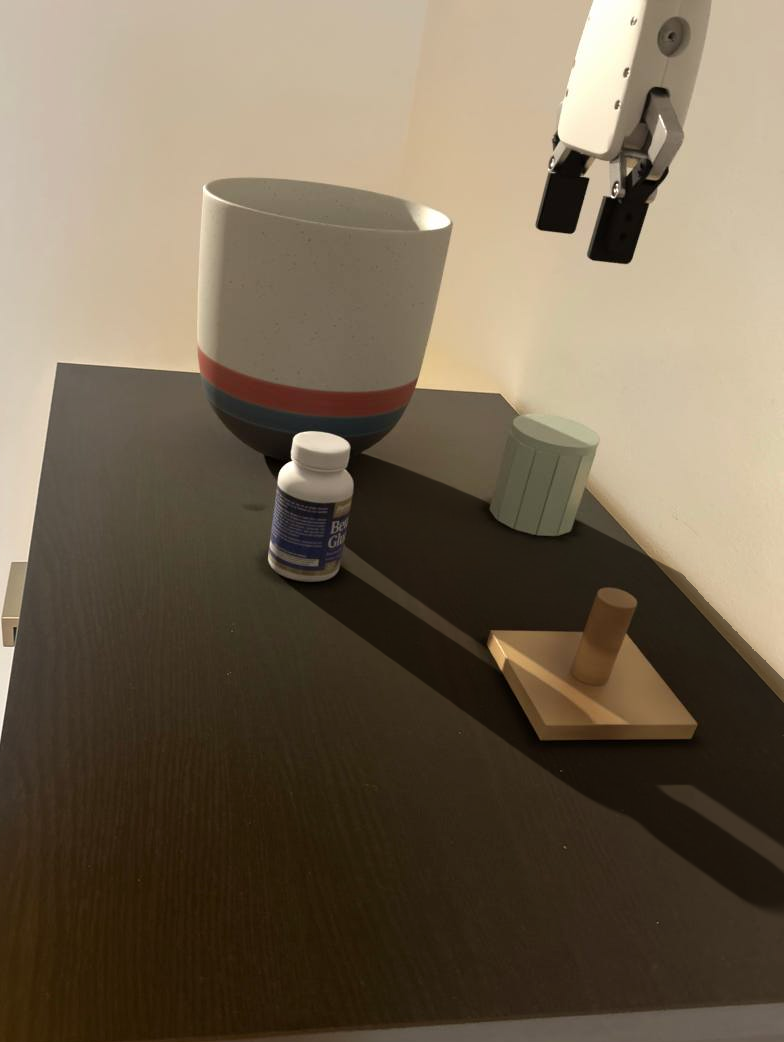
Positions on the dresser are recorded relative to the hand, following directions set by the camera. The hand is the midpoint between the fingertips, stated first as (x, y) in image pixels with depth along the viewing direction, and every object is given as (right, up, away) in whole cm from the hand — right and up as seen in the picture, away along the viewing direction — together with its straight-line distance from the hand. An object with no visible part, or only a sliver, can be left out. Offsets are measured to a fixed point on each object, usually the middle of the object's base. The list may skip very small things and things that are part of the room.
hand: (579, 245), depth 69 cm
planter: (-21, -11, +19) cm, 30 cm away
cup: (0, -18, +13) cm, 22 cm away
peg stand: (-2, -32, -9) cm, 33 cm away
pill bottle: (-20, -24, 0) cm, 31 cm away
